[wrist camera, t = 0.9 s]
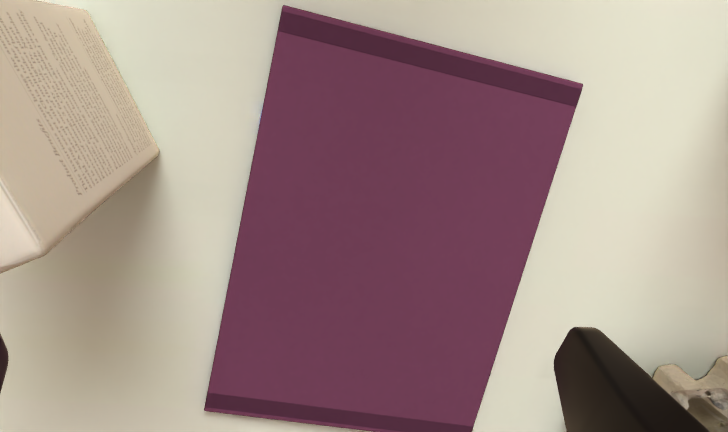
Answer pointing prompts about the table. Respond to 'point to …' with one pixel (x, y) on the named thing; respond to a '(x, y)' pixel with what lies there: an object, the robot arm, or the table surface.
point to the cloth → (383, 229)
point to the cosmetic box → (59, 127)
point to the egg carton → (699, 393)
